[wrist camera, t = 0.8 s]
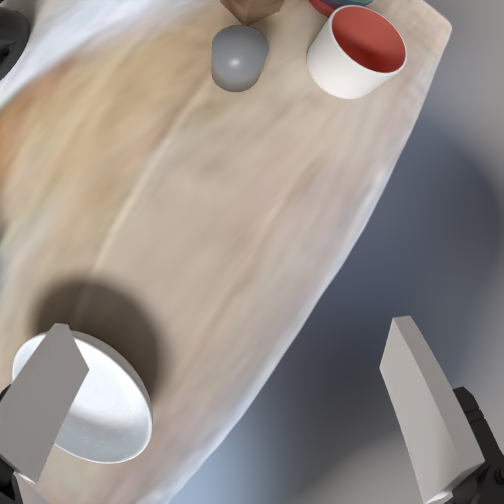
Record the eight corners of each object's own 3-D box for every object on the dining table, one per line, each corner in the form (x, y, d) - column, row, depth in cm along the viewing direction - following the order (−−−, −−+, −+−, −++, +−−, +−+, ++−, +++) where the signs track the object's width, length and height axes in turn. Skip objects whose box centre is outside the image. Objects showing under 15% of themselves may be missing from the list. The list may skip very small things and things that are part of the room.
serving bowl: (164, 332, 37) (155, 356, 31) (157, 447, 40) (152, 476, 33) (28, 301, 34) (2, 315, 28) (42, 415, 37) (26, 438, 30)
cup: (369, 51, 35) (403, 21, 26) (370, 109, 37) (410, 86, 27) (304, 34, 34) (328, -5, 24) (302, 93, 35) (329, 60, 26)
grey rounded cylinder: (206, 58, 33) (206, 30, 26) (251, 49, 34) (259, 21, 27) (218, 97, 34) (219, 73, 27) (264, 86, 35) (275, 63, 28)
